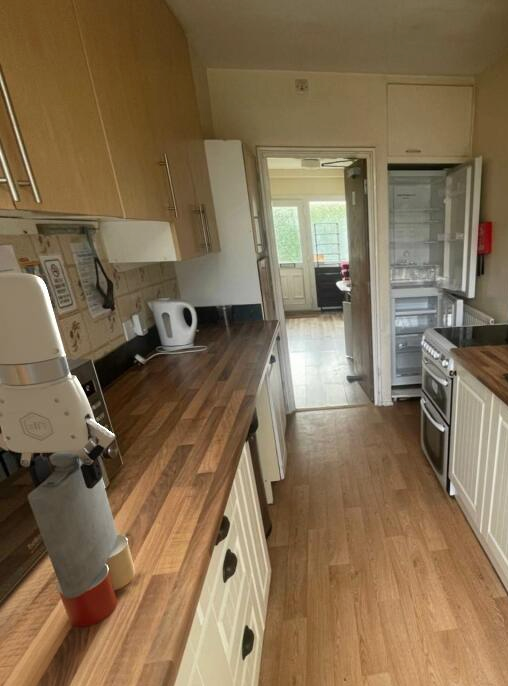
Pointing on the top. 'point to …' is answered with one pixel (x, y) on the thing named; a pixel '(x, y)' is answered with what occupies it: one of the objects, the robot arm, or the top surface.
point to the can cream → (120, 563)
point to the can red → (91, 602)
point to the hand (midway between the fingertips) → (70, 483)
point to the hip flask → (73, 524)
